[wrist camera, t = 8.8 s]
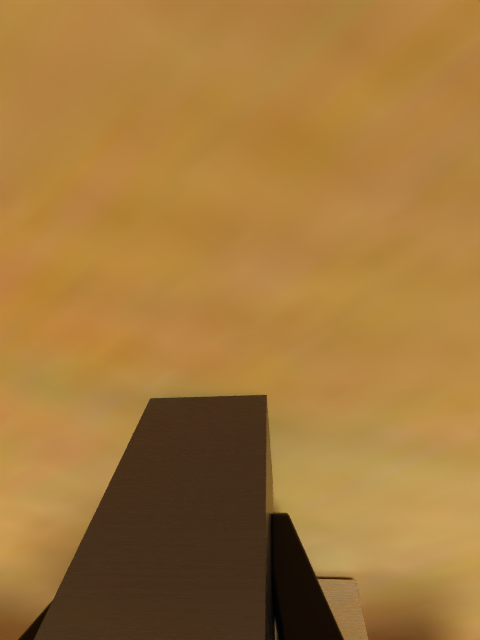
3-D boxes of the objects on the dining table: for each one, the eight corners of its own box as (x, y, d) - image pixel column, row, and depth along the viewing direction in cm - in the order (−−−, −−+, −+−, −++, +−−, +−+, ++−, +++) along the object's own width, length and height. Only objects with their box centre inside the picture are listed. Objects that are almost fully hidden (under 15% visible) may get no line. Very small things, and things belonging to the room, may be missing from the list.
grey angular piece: (369, 392, 9) (538, 786, 3) (354, 606, 12) (421, 958, 7) (59, 400, 10) (-220, 730, 4) (131, 599, 13) (35, 911, 8)
